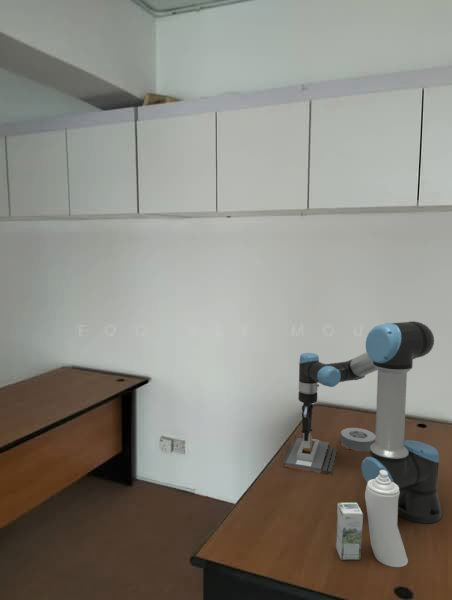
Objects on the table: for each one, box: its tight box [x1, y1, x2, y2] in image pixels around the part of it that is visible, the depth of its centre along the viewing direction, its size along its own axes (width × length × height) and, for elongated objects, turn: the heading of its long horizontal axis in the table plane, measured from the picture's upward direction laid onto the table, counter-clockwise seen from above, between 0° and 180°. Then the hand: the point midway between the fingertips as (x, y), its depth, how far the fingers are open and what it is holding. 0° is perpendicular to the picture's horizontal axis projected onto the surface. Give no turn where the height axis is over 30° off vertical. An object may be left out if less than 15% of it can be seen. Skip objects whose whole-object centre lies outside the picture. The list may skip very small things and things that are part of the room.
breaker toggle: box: [303, 434, 313, 454], centre depth 192 cm, size 3×3×8 cm
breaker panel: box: [281, 437, 338, 475], centre depth 194 cm, size 26×20×4 cm
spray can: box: [364, 470, 409, 568], centre depth 131 cm, size 12×11×25 cm
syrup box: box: [335, 502, 364, 561], centre depth 132 cm, size 6×6×14 cm
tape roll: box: [340, 427, 376, 451], centre depth 207 cm, size 15×15×5 cm
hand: (306, 447), depth 189 cm, fingers closed
